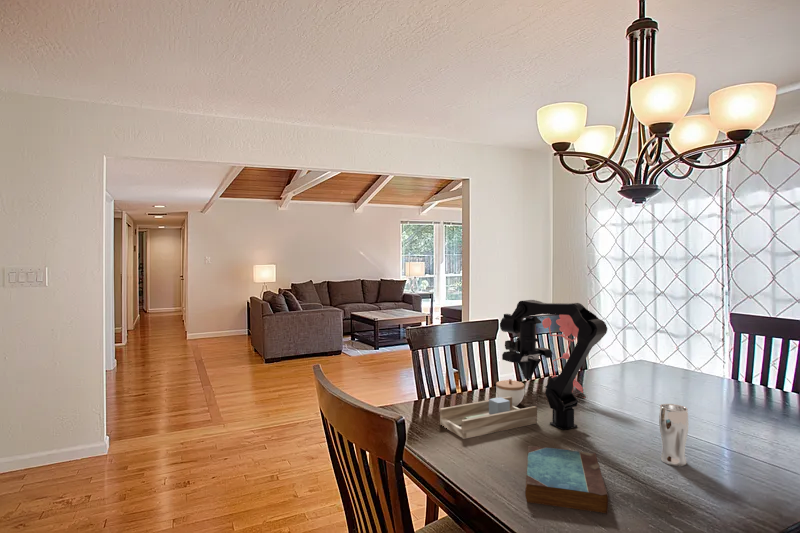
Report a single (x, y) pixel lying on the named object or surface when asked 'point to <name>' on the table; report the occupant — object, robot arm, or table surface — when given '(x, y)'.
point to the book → (565, 479)
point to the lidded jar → (511, 390)
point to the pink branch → (567, 329)
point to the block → (498, 405)
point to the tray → (484, 418)
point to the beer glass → (673, 433)
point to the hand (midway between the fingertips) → (527, 378)
